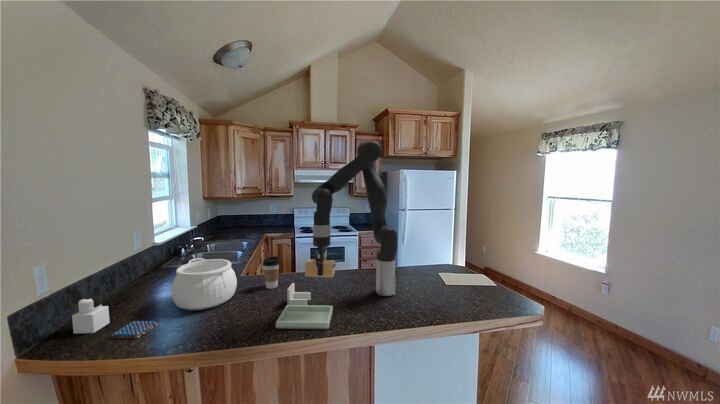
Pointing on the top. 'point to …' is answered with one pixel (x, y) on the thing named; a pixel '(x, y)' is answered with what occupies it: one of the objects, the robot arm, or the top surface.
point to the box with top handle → (313, 270)
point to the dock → (297, 296)
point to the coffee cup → (271, 272)
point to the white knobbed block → (90, 315)
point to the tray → (305, 317)
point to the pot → (203, 284)
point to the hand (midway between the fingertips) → (321, 272)
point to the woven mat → (134, 329)
